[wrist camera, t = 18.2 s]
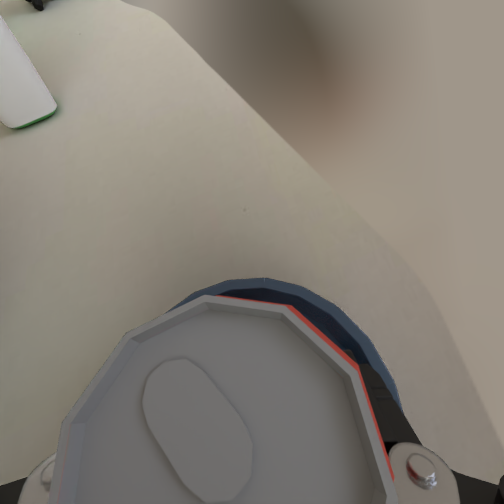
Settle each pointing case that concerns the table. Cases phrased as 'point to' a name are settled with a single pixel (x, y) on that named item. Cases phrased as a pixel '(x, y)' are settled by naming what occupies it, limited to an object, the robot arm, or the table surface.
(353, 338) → the bowl
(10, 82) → the cup
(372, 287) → the table surface
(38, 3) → the toy ball
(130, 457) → the beverage can
